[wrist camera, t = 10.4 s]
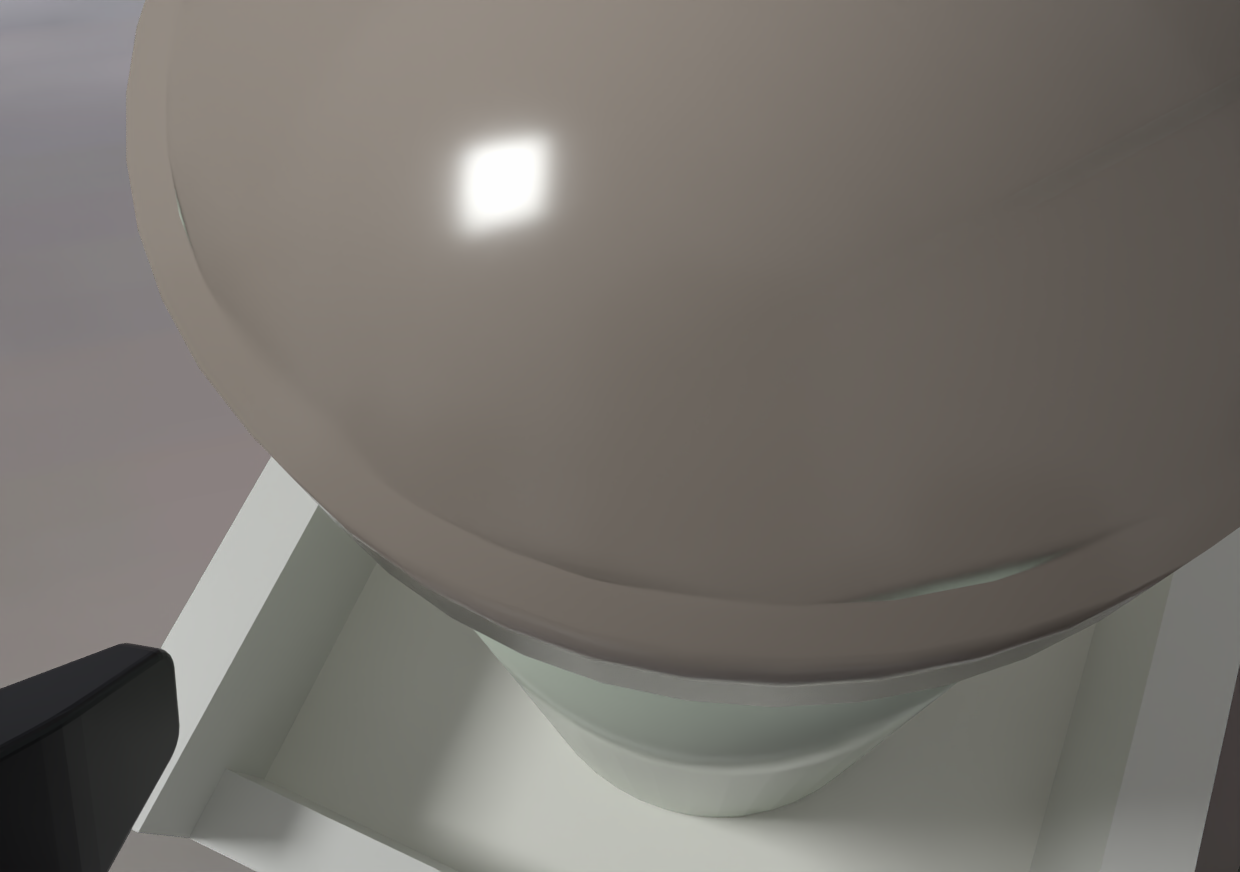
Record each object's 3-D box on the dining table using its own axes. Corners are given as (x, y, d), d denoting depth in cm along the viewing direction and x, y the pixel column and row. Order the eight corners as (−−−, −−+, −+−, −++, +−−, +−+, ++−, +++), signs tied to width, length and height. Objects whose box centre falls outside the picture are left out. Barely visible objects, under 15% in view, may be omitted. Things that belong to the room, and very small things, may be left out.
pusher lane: (1008, 1219, 14) (1259, 1480, 8) (190, 817, 17) (-113, 771, 11) (1342, -124, 23) (1592, -517, 17) (764, -253, 26) (787, -634, 19)
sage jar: (718, 930, 16) (812, 1057, 4) (433, 617, 18) (-112, 34, 6) (1003, 619, 17) (1740, -20, 5) (709, 362, 19) (744, -528, 7)
